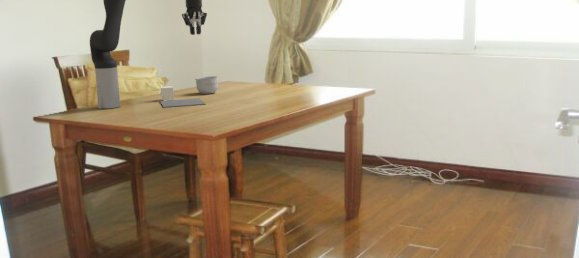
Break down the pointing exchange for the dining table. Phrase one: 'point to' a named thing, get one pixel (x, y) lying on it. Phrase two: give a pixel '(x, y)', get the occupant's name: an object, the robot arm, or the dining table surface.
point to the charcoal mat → (182, 102)
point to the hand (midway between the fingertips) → (195, 34)
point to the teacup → (207, 84)
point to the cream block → (167, 93)
